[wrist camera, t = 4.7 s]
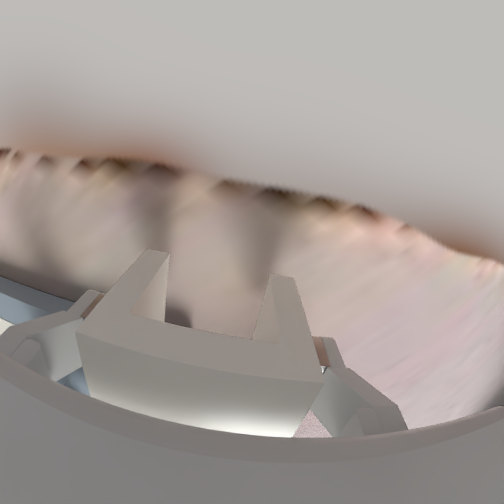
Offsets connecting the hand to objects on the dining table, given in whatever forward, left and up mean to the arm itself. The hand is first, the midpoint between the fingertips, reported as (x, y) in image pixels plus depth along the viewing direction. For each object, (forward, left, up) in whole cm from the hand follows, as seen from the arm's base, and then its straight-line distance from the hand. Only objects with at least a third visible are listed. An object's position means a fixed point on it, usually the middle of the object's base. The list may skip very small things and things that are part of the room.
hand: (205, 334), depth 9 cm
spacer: (0, 0, -2) cm, 2 cm away
